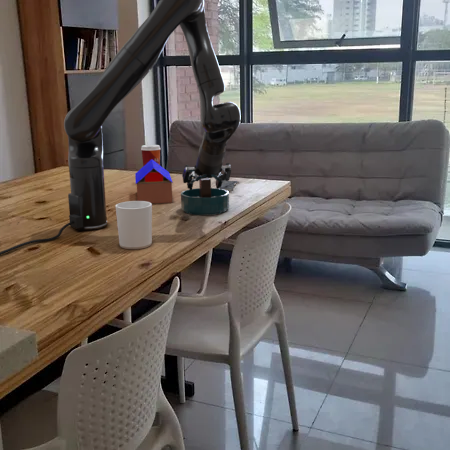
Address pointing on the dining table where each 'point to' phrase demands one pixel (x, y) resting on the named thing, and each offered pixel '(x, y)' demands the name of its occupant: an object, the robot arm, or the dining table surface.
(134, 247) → the mug
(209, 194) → the brown rectangular block
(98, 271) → the dining table surface
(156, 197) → the house
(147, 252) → the dining table surface
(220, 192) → the bowl
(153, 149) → the paper cup
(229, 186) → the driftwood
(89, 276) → the dining table surface
